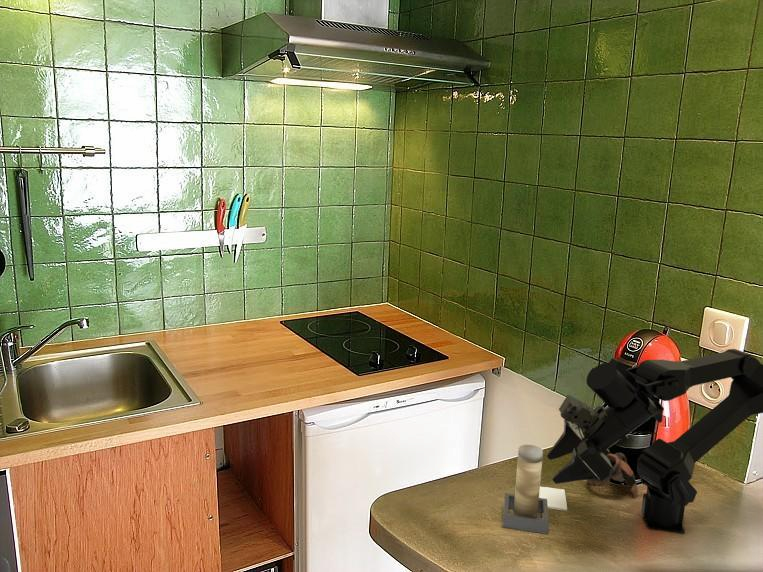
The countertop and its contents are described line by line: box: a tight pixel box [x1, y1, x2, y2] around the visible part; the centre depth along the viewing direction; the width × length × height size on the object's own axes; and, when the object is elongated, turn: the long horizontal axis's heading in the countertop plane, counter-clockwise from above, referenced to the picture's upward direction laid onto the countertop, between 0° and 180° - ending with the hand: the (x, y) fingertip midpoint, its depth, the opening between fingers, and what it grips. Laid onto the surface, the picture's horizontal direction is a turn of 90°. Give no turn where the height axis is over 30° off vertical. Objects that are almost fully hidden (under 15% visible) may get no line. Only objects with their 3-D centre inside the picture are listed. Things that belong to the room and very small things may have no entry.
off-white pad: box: [539, 485, 568, 512], centre depth 126 cm, size 8×8×1 cm
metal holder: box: [502, 493, 550, 535], centre depth 118 cm, size 8×8×2 cm
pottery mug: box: [586, 452, 639, 499], centre depth 131 cm, size 12×10×8 cm
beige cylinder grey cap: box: [512, 444, 544, 517], centre depth 117 cm, size 4×4×14 cm
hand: (550, 469), depth 115 cm, fingers open, 9 cm apart
